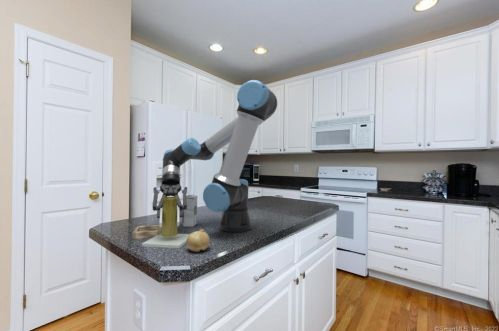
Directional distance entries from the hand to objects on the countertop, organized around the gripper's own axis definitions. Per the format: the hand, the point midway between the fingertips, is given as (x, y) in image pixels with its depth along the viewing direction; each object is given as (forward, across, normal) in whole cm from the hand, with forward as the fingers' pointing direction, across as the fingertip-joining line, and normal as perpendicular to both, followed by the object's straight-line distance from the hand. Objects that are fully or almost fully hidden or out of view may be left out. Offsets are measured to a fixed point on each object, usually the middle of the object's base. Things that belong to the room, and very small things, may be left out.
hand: (169, 224), depth 87 cm
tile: (+3, 0, -8) cm, 8 cm away
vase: (+1, 0, -6) cm, 6 cm away
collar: (-6, +9, -16) cm, 19 cm away
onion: (+12, -10, +1) cm, 15 cm away
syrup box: (-14, -9, -24) cm, 29 cm away
